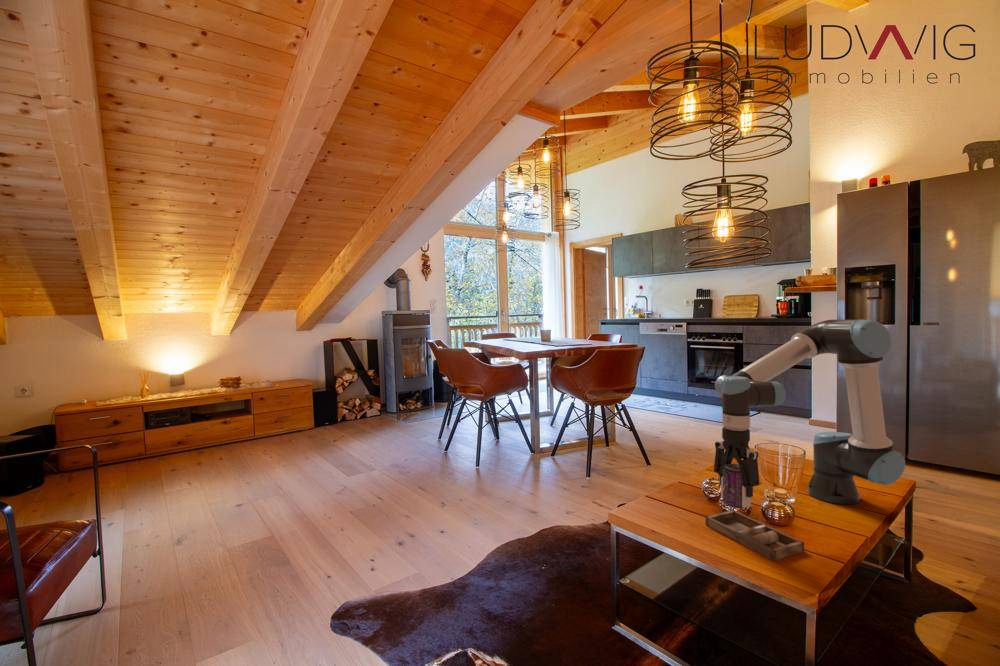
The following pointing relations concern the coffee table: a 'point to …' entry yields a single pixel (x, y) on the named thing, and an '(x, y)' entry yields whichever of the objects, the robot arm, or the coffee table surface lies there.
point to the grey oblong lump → (766, 537)
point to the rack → (746, 527)
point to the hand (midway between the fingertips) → (735, 501)
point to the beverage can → (732, 486)
